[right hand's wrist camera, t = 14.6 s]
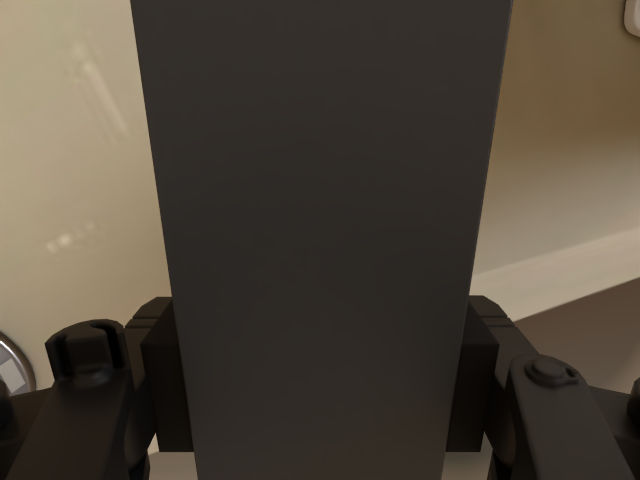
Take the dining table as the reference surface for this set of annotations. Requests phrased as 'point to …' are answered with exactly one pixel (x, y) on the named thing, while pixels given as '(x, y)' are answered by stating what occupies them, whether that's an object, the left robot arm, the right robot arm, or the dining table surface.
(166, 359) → the right robot arm
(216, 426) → the beam
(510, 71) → the dining table surface
